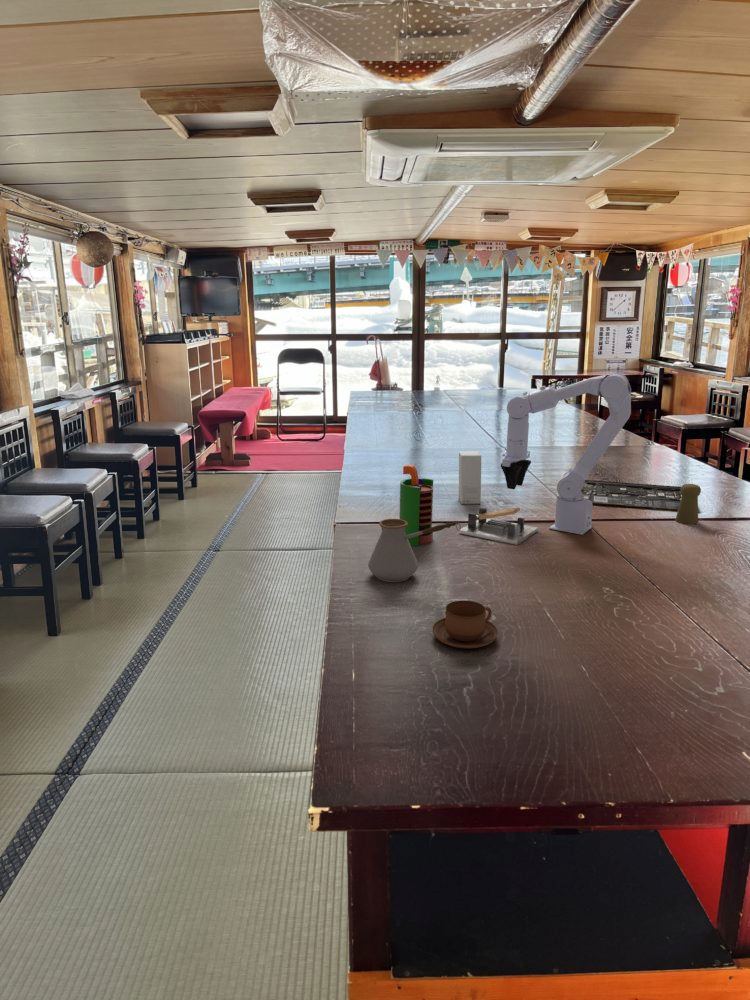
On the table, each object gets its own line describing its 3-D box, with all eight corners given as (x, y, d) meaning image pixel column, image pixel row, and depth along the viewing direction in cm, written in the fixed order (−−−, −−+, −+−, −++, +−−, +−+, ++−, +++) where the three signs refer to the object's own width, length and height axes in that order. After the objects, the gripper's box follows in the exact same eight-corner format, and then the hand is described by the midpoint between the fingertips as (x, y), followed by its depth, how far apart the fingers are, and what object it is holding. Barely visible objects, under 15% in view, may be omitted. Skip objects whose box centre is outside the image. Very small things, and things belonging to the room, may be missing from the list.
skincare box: (480, 504, 214) (482, 455, 209) (459, 504, 214) (461, 455, 210) (477, 497, 222) (479, 450, 218) (457, 497, 222) (458, 450, 218)
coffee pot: (359, 581, 154) (359, 517, 150) (380, 564, 164) (380, 504, 160) (450, 596, 145) (452, 529, 141) (465, 577, 155) (468, 514, 151)
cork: (694, 518, 198) (698, 482, 195) (701, 525, 192) (706, 487, 189) (672, 518, 199) (676, 481, 196) (679, 524, 193) (683, 486, 190)
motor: (430, 546, 176) (431, 471, 170) (396, 544, 177) (396, 469, 172) (434, 534, 185) (436, 462, 180) (402, 532, 187) (402, 461, 182)
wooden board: (520, 511, 184) (519, 506, 184) (513, 515, 181) (512, 510, 181) (479, 517, 192) (478, 513, 192) (472, 521, 188) (471, 517, 188)
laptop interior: (577, 505, 214) (577, 499, 213) (581, 483, 239) (582, 478, 239) (699, 517, 203) (700, 511, 202) (690, 493, 228) (691, 487, 228)
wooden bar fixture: (537, 530, 188) (538, 513, 186) (517, 544, 177) (518, 526, 175) (481, 520, 197) (482, 504, 196) (458, 533, 186) (459, 515, 185)
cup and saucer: (455, 619, 135) (455, 590, 133) (509, 636, 128) (510, 606, 126) (419, 641, 126) (420, 610, 124) (475, 661, 119) (476, 629, 117)
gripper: (514, 434, 197) (512, 479, 201) (492, 442, 186) (490, 490, 190) (537, 436, 194) (534, 483, 197) (517, 444, 182) (514, 493, 186)
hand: (514, 486), depth 193 cm, fingers open, 4 cm apart
